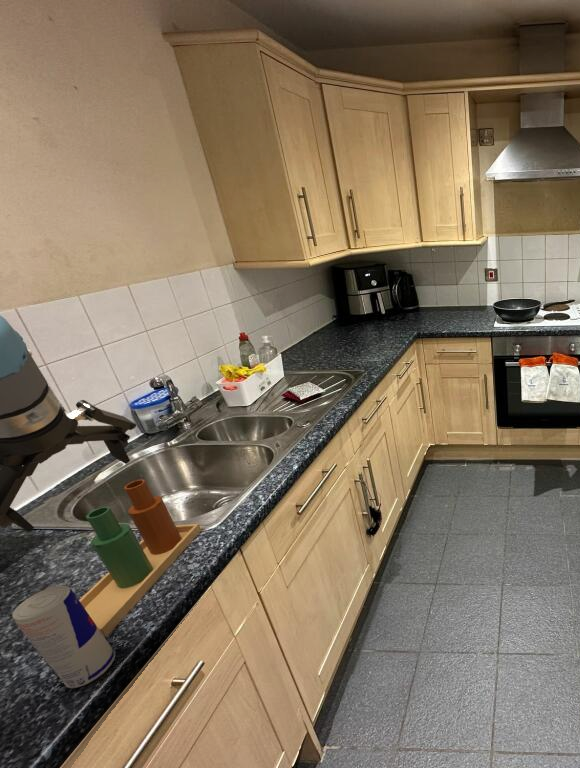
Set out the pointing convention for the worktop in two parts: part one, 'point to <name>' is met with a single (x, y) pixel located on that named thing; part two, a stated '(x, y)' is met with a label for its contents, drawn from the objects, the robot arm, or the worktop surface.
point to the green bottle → (118, 549)
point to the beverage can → (65, 635)
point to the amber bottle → (152, 518)
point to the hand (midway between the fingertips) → (76, 489)
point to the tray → (115, 603)
